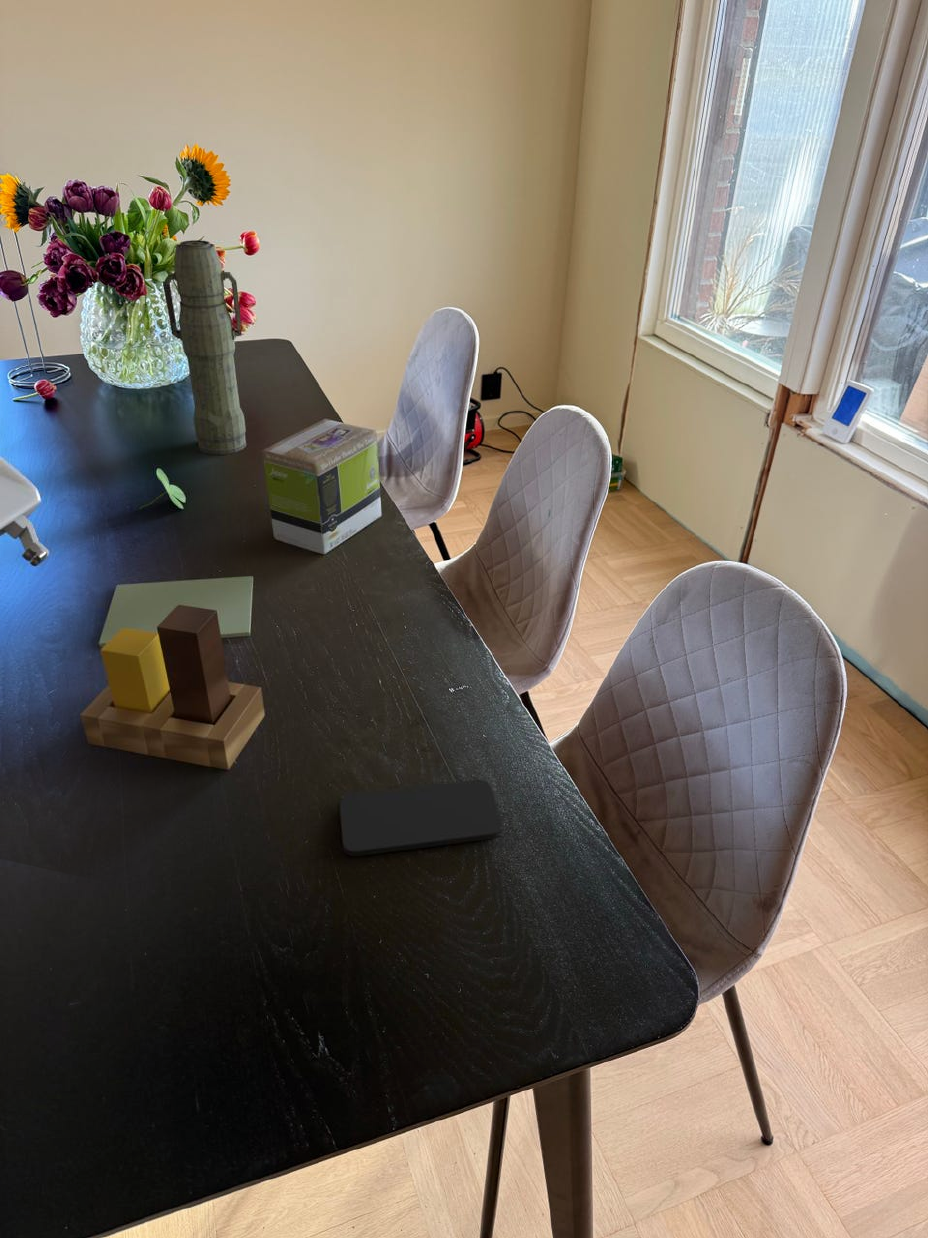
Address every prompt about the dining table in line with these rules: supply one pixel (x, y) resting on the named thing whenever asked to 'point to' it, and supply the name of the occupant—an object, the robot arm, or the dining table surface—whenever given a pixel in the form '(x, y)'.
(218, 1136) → the dining table surface
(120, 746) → the stand
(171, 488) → the seedling
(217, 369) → the thermos
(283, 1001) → the dining table surface
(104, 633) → the mat
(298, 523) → the tea box
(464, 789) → the phone
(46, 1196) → the dining table surface
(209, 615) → the walnut peg
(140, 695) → the yellow peg
